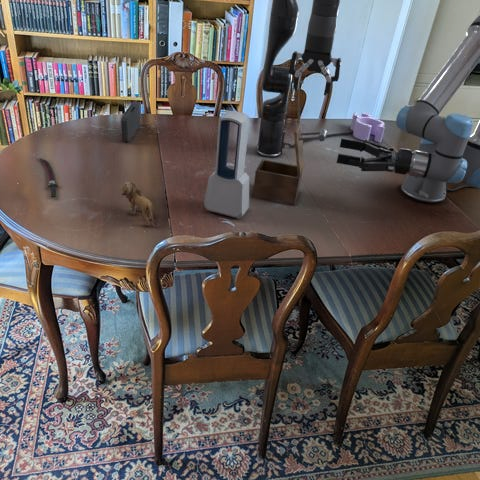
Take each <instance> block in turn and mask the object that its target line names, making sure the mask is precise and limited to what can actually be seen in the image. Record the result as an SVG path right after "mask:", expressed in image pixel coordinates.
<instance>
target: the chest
mask: <svg viewBox="0 0 480 480" xmlns="http://www.w3.org/2000/svg"><path fill="white" fill-rule="evenodd" d="M254 174H255V175H254V181H253V190H252V198H255V199H261V200H266V201H268V202H269V201H270V202H275V203H279V204H285V205H289V206H295V204H296V202H297V198H298V195H299V192H300V187H301V182H302V176H303V174H302V175H301V177H298V173H297V164H296V165H295V164H290V163H285V162H279V161H274V160H269V159H264V158H262V159H261V161H260V162H259V164H258V166H257V167H256V169H255V173H254Z"/></svg>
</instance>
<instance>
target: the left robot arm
mask: <svg viewBox="0 0 480 480" xmlns="http://www.w3.org/2000/svg"><path fill="white" fill-rule="evenodd" d="M340 4H341V0H312V7H311V12H310V15H309V16H310V17H309V20H308V23H307V31H306V37H305V44H304V50H303V53H302V52H301V53H300V52H299V51H297V50H294V51H293V53H292V54H291V58H290V59H291V60H290V64H289V67H290V68H289V67H288V66H279V65H274V64H275V61H276V59H277V57H278V55H279V54H280V52H281V51H282V49H283V48H284V47H285V46H286V45H287V44H288V42H289V41H290V40H291V39H292V38H293V36H294V34H295V33H296V31H297V25H298V20H299V19H298V18H299V13H300V11H299V5H298V2H297V0H272V2H271V7H270V15H269V25H268V35H267V44H266V51H265V57H264V62H263V67H262V73H261V79H260V80H261V83H260V84H261V85H260V87H261V90H262V92H266V93H274V94H278V95H276V96H275V97H272V98H269V99H266V100H264V101H263V102H262V105H261V114H260V123H259V131H258V138H257V139H258V140H257V143H256V153H257V154H258V155H259V156H262V157H264V158H265V157H266V158H277V157H279V156H281V155H282V154H283V150H284V149H285V147H286V146H288V147H289V148H295V144H291V143H290V142H285V136H286V130H284V128H285V122H286V120H285V119H286V117H287V116H286V115H287V114H286V109H287V105H288V102H289V97H290V96H289V95H290V90H291V85H292V89H293V88H295V89H294V92H295V91H296V92H298V86H299V81H301V79H300V75H301V76H302V74H303V73H304V72H305V71H306V70H307V71H308V72H316V73H321V72H322V74H323V76H324V77H325V79H326V82H325V86H324V92H323V96H327V95H329V93H330V92H331V86H332V83H333V82H338V81H339V79H340V73H341V65H342V58H341V57H337V58H335V57H332V52H333V46H334V41H335V35H336V32H337V25H338V24H337V23H338V22H337V21H338V16H339V15H338V14H339V9H340ZM300 59H301V60H302V61H303V66H302V65H301V67H299V68H300V69H299V70H294V69H295V67H296V64H297V62H298V61H300ZM331 63H332V65H333V67H335V70H334V75H333V76H332V74H331V72H330V69H329V68H328V66H329V65H330V64H331ZM293 80H294V83H292V82H293ZM285 116H286V117H285ZM353 132H354V131H347V132H337V133H330V134H328V133H327V134H326V137H325V138H329V137H335V136H336V137H337V136H345V135H353ZM309 141H310V140H303V143H305V142H309Z"/></svg>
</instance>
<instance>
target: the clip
mask: <svg viewBox="0 0 480 480" xmlns="http://www.w3.org/2000/svg"><path fill="white" fill-rule="evenodd" d="M358 114H359V113H358V112H353V114H352V118H351V122H350V126H349V129H350V130H351V131H352V132H353V134H352V136H353V137H354V138H356V139H358V140H361V141H364V140H368V141H370V135H372V136H374V139H373V140H374V141H373V142H375V143H378V144H380V143H382V140H383V137H384V132H385V129H386V127H385V122H384V121H383V120H380V119H377V118H374V117H372V115H371V114H369V113H366V112H361V115H358Z"/></svg>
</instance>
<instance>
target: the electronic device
mask: <svg viewBox="0 0 480 480" xmlns="http://www.w3.org/2000/svg"><path fill="white" fill-rule="evenodd" d="M250 118H251V116H249V115H248V114H246V113H244V112H241V111H237V110H236V111H235V110H232V111H227V112H225V114H223V115H222V116H220V117H219V118H218V125H217V127H218V128H217V139H216V154H215V155H216V156H215V166H214V167H215V168H214V169H215V170H214V171H213V172H212V173H211V174H210V175H209V177H208V181H207V185H206V190H205V195H204V199H203V206H204V208H205V210H206V211H208V212H211V213H215V214H219V215H223V216H226V217H230V218H233V219H238V220H239V219H241V218H242V217H243V216H244V215H245V214H246V213H247V211H248V210H249V208H250V176H249V174H247V172H246V171H245V165H246V156H247V145H248V137H249V130H250V129H249V128H250ZM231 123H232V124H235V125H237V131H236V144H235V155H234V163H233V165H234V166H233V168H230V167H228V166H227V164H228V154H229V153H228V152H229V141H230V129H231Z"/></svg>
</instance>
